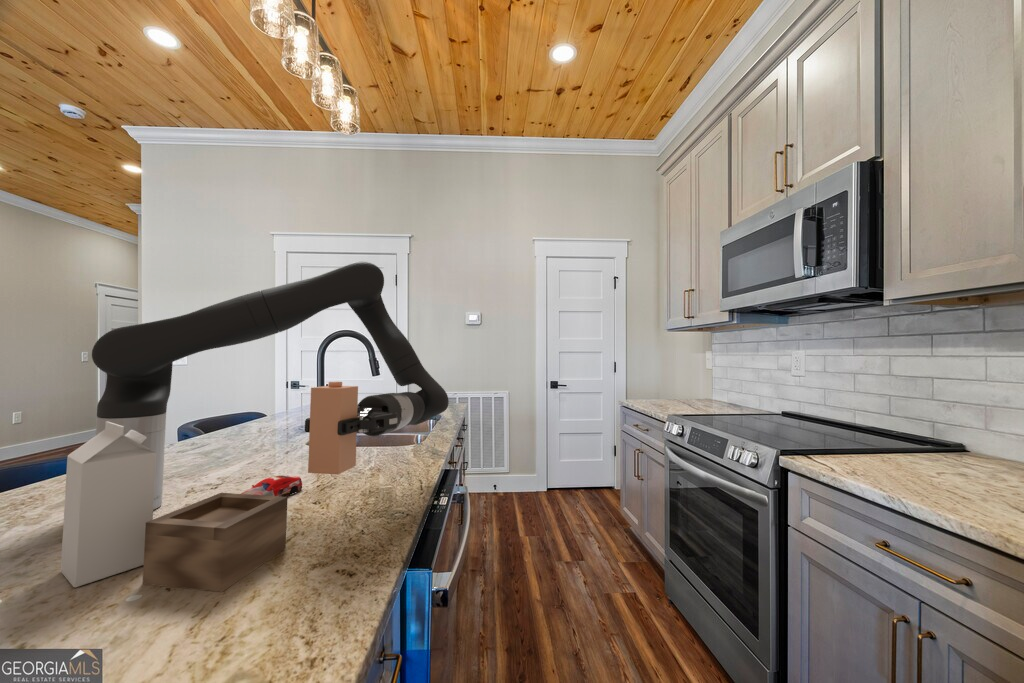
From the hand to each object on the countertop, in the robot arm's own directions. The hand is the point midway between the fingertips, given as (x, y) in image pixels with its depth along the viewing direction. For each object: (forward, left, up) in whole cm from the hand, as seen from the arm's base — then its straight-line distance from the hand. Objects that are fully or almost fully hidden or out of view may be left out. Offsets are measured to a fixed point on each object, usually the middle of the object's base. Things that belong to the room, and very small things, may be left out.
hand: (323, 427), depth 61 cm
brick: (0, +3, -7) cm, 7 cm away
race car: (-21, +16, -18) cm, 33 cm away
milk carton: (-24, -10, -18) cm, 31 cm away
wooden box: (-10, -7, -18) cm, 21 cm away
